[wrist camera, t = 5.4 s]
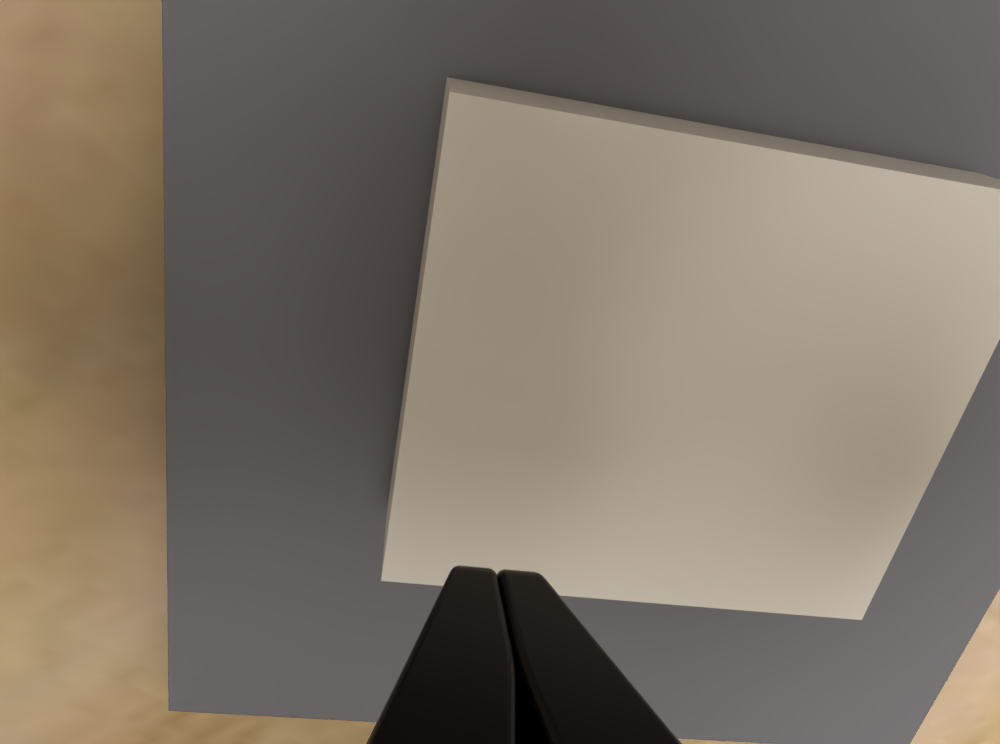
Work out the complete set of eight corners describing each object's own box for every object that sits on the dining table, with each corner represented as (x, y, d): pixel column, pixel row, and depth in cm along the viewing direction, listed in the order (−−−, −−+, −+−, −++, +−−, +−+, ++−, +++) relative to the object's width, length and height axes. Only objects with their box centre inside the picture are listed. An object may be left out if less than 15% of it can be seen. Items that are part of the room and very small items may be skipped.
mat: (893, 730, 20) (906, 750, 20) (176, 688, 17) (168, 710, 17) (1400, -178, 12) (1446, -186, 11) (173, -525, 9) (157, -557, 9)
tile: (387, 506, 15) (811, 546, 16) (381, 581, 13) (861, 619, 14) (446, 76, 12) (973, 171, 13) (449, 91, 10) (1067, 201, 11)
